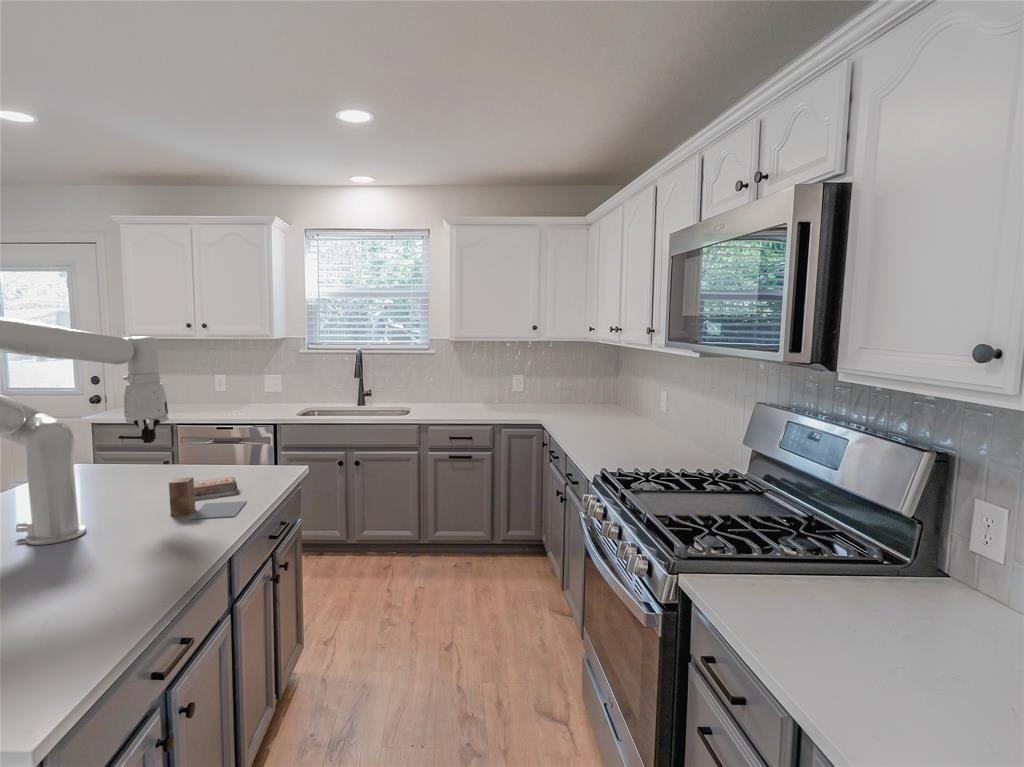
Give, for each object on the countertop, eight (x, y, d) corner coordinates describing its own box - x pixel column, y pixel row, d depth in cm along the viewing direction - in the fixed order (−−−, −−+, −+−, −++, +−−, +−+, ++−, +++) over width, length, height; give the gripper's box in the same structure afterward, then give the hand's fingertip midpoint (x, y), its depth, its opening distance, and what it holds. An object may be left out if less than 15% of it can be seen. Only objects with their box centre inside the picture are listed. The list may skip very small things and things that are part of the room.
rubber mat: (189, 519, 164) (189, 518, 164) (205, 504, 178) (205, 503, 178) (234, 516, 167) (234, 515, 167) (246, 502, 180) (246, 501, 180)
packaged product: (234, 473, 197) (237, 481, 188) (235, 487, 197) (238, 495, 189) (174, 481, 188) (174, 489, 179) (174, 495, 188) (175, 504, 180)
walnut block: (170, 516, 167) (168, 482, 166) (177, 510, 172) (175, 478, 171) (189, 515, 168) (187, 481, 167) (195, 509, 173) (193, 477, 172)
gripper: (109, 381, 159) (114, 446, 161) (168, 380, 162) (172, 443, 164) (121, 378, 166) (126, 440, 169) (177, 377, 169) (181, 438, 172)
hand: (149, 442), depth 166 cm, fingers closed
